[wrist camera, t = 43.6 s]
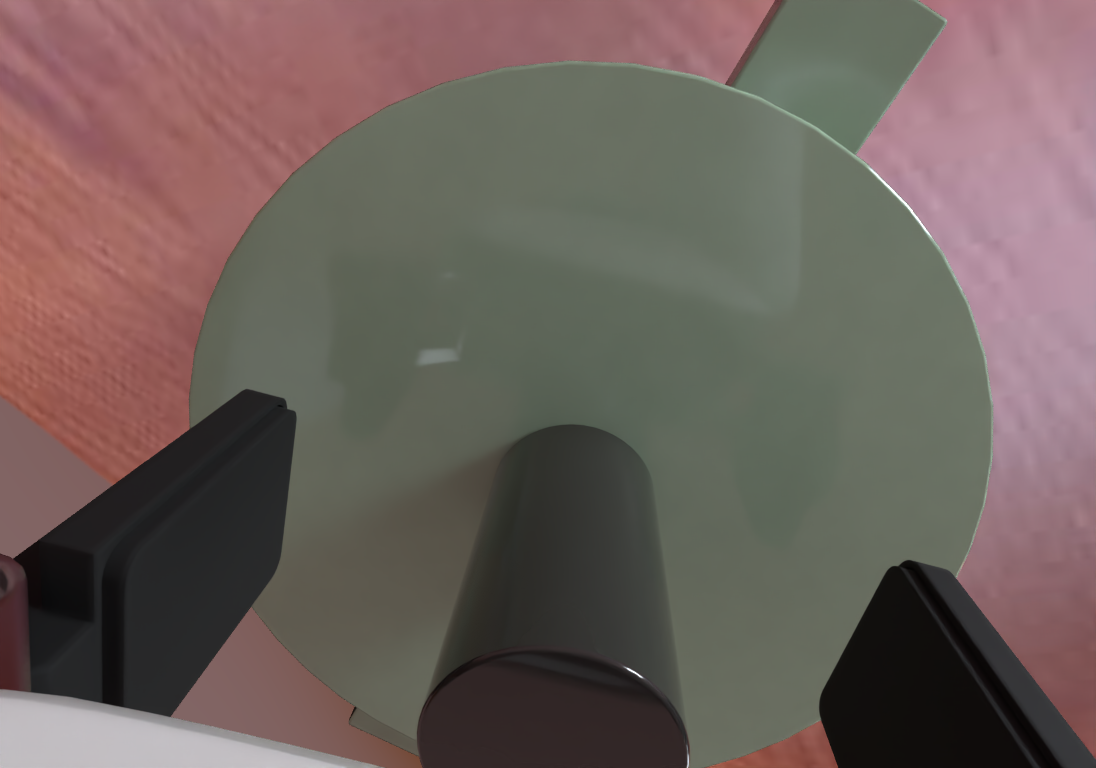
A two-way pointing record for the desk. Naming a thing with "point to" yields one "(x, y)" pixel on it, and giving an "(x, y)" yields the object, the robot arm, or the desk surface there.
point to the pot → (814, 94)
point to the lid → (597, 413)
